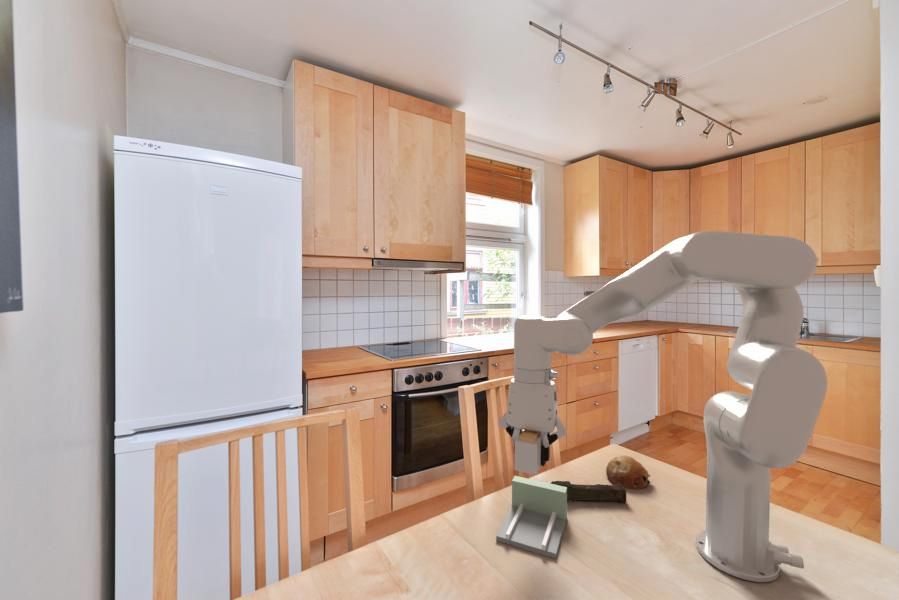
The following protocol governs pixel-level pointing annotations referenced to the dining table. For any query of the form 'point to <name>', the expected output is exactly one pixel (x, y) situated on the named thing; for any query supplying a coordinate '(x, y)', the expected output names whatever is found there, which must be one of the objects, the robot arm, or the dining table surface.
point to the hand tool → (593, 492)
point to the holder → (528, 452)
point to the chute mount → (535, 516)
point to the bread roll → (627, 472)
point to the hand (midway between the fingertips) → (531, 459)
